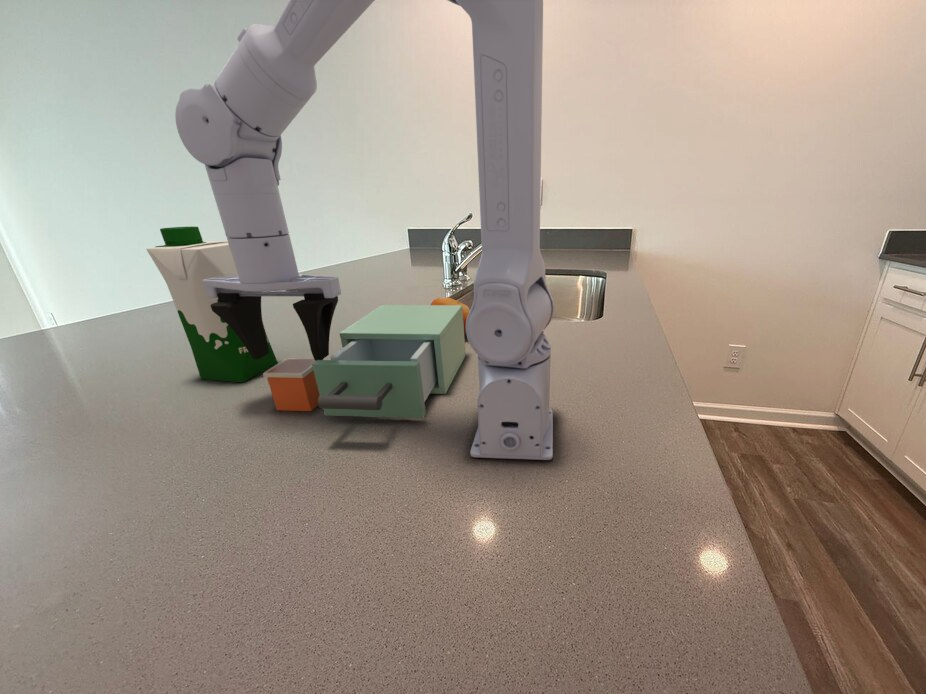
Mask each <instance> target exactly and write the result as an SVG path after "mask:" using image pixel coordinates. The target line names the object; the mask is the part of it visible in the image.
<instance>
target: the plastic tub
mask: <svg viewBox="0 0 926 694" xmlns="http://www.w3.org/2000/svg"><path fill="white" fill-rule="evenodd" d="M322 360H324V359H322ZM314 362H316V361H315V359H314V358H307V357H306V358H305V357H304V358H303V357H302V358H300V357H299V358H296V357H287V358H285V359H283V360H282V361H280V362H278V364H276V365H275V366H273V367H271V368H269V369H267V370H265V371H263V372H262V375H263V378H266V379H267V382H268V386H269V389H270V391H271V396H272V398H273V402H274V404H275V408H276V409H275V410H276V411H283V412H284V411H285V412H287V411H288V412H312V411H314V410H315V409H316V408H317V407H319V406H318V398H319V396H320V394H319V390H318V386H317V382H316V378H315V374H314V370H313V366H312V364H313V363H314Z"/></svg>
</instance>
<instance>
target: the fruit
mask: <svg viewBox="0 0 926 694" xmlns="http://www.w3.org/2000/svg"><path fill="white" fill-rule="evenodd" d="M430 305H462V311H463V324H464V337H466V336H467V335H466V320H467V316H468V314H469V311H470V309H471V308H470V307H469V306H468V305H467V304H464V303H462V302H461V301H460V300H456V299H453V298H451V297H448V296H447V297H437V298H434V300H432V301H431V302H430Z"/></svg>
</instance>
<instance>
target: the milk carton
mask: <svg viewBox="0 0 926 694" xmlns="http://www.w3.org/2000/svg"><path fill="white" fill-rule="evenodd" d="M159 231H160V234H161V237H162V240H163V241H164V244H163V245H156V246H155V247H147V248H146V251H147V254H148V255H149V256H150V258H151V259H152V261H153V263H154V264H155V267H156V268H157V270H158V271H159V273H160V274H161V276H162V278H163V280H164V282H165V284H166V286H167V289H168V291H169V293H170V297H171V299H172V301H173V304H174V306H175V309H176V312H177V315H178V317H179V319H180V322H181V325H182V328H183V330H184V333H185V335H186V338H187V340H188V343H189V346H190V349H191V352H192V355H193V358H194V362H195V365H196V368H197V371H198V375H199V378H200V380H207V381H208V380H209V381H221V382H232V383H245V382H246V381H248V380H251V379H252V378H254V377H256V376H258V375H260V374H261V373H264V372H266V371H268V370H269V369H271V368H272V367H274V366H275V365H277V364H279V362H278V359H277V357H276V354H275V352H274V349H273V348H272V344H271V342H270V340H269V338H268V335H267V332H266V327H265V325H264V324H263V327H264V331H265V335H266V338H267V342H268V348H269V354H267V355H265V356H264V357H262V358H260V359H253V358H252V356H251V355H250V353H249V352H248V350H247V349H246V347H245V346H244V344H243V343H242V341H241V340H240V338H239V337H238V336H237V334H236V333H235V332H234V331H233V330H232V329H231V327H230V326H229V325H228V324H227V323H226V322H225V321H224V320H223V319H221V318H220V317H219V316H218V315H217V314H215V313H214V312H213V311H212V309H211V306H210V305H211V304H213V303H216V302H218V301H217V299H218V297H217V298H208V296H207V293H206V290H205V287H204V284H203V281H202V280H205V279H209V278H213V277H230V276H238V273H237V270H236V266H235V263H234V260H233V257H232V253H231V250H230V247H229V244H228V240H220V241H219V240H218V241H217V240H216V241H215V240H214V241H212V240H211V241H209V240H207V241H206V240H205V241H204V240H203V237H202V234H201V231H200V229H199V226H175V227H162V228H160V229H159Z"/></svg>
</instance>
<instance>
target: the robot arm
mask: <svg viewBox="0 0 926 694" xmlns="http://www.w3.org/2000/svg"><path fill="white" fill-rule="evenodd" d="M375 1H376V0H287V1H286V3H285V5H284V7H283V9H282V11H281V12H280V14H279V17H277V20H276V22H275V23H274V24H271V25H268V24H261V23H253V24H250V25H249V26H248V28H247V27H243V28H242V30H241V32H240V33H239V34H238V36H237V41H238V43H237V45H236V47H235V48H234V51H232V53H231V55H230V56H229V58H228V60H227V61H226V62H225V64H224V66H223V67H222V69H221V71H220V72H219V73H218V74H217V75H216V77H215V78H214V80H213V82H212V84H210V83H209V84H207V83H205V84H203V86H202V88H187V89H185V90H183V91H181V93H180V94H179V99H178V101H177V104H176V107H175V113H174V114H175V126H176V129H177V133H178V135H179V138H180V140H181V142H182V145H183V146H184V148H185V149H186V150H187V152H188V153H189V154H190V155H191V156H192V157H193V158H194V159H195V160H196V161H198V162H199V163H201V164H203V165H204V167H205V171H206V174H207V178H208V180H209V183H210V187H211V191H212V194H213V197H214V201H215V204H216V207H217V211H218V214H219V217H220V220H221V224H222V227H223V230H224V234H225V237H226V241H228V244H229V247H230V250H231V253H232V257H233V260H234V263H235V266H236V270H237V273H238V276H230V277H213V278H209V279H205V280H202V281H203V284H204V287H205V290H206V293H207V296H208V298H217V297H218V299H217V301H218V302H216V303H213V304H211V305H210V306H211V309H212V311H213V312H214V313H215V314H217V315H218V316H219V317H220V318H221V319H223V320H224V321H225V322H226V323H227V324H228V325H229V326H230V327H231V329H232V330H233V331H234V332H235V333H236V334H237V336H238V337H239V338H240V340H241V341H242V343H243V344H244V346H245V347H246V349H247V350H248V352H249V353H250V355H251V356H252V358H253V359H260V358H262V357H264V356H265V355H267V354H269V348H268V342H267V338H266V335H267V334H266V335H265V332H266V330H265V331H264V328H265V326H264V327H263V325H264V322H263V315H262V297H303V299H301V300H299V301H296V302H294V303H292V308H293V309H294V311H295V312H296V314H297V316H298V318H299V320H300V322H301V323H302V326H303V328H304V331H305V333H306V337H307V341H308V344H309V349H310V352H311V355H312V357H313V359H315V361H317V360H322V359H323V360H325V359H326V357H328V356H330V333H331V327H332V322H333V317H334V314H335V310H336V308H337V305H338V303H339V296H340V295H342V290H341V289H342V288H341V285H340V280H339V277H338V276H323V275H313V274H302V273H301V274H300V273H299V270H298V265H297V261H296V257H295V253H294V249H293V244H292V240H291V235H290V234H289V233H290V232H289V228H288V223H287V220H286V219H287V218H286V215H285V212H284V206H283V202H282V198H281V193H280V190H279V186H280V181H281V180H282V179H281V175H280V171H279V163H280V159H281V157H282V152H283V141H282V134H283V133H284V132H285V131H286V129H287V128H288V127H289V125H291V123H292V122H293V121H294V119H295V118H296V117H297V116H298V114H299V113H300V112H301V111H302V110H303V108H304V107H305V105H306V104H307V103H308V102H309V101H310V100H311V98H312V97H313V96H314V94H315V93H316V92H317V89H318V83H317V82H318V81H317V77H316V70H315V66H316V65H317V64H318V63H319V61H320V60H321V59H322V58H323V57H324V56H325V55H326V54H327V53H328V52H329V51H330V50H331V48H332V47H333V46H334V45H335V44H336V43H337V42H338V41H339V40H340V39H341V37H343V35H344V34H345V33H346V32H347V31H348V30H349V29H350V28H351V27H352V25H353V24H355V22H356V21H357V20H358V19H359V18H360V17H361V16H362V15H363V14H364V13H365V12H366V10H368V8H369V7H370V6H371V5H372V4H373V3H374V2H375ZM447 1H448V2H450V3H452V4H454V5H457V6H459V7H461V9H463V10H464V12H465V13H466V14H467V15H468V16H469V18H470V21H471V37H472V58H473V59H472V60H473V80H474V81H473V83H474V102H475V103H474V104H475V105H474V106H475V125H476V126H475V127H476V128H475V129H476V146H477V147H476V148H477V149H476V150H477V171H478V172H477V173H478V191H479V192H478V194H479V216H480V217H479V218H480V237H481V238H480V240H481V255H480V259H479V263H478V266H477V269H476V271H475V276H474V278H473V300H472V304H471V307H470V308H469V309H470V311H469V314H468V316H467V320H466V335H465V336H466V339H467V341H468V343H469V345H470V348H471V349H472V350H473V351H474V353H475V354H476V355H477V368H478V384H479V386H478V387H479V392H478V395H477V399H476V400H477V402H476V405H477V407H476V408H477V409H476V410H477V422H478V423H477V424H478V426H477V429H476V432H475V435H474V439H473V441H472V445H471V448H470V457H471V458H479V459H507V460H533V461H534V460H536V461H550V460H552V459H553V457H554V439H553V438H554V416H553V415H554V412H553V411H554V410H553V409H552V408H550V402H551V399H550V398H551V397H550V395H551V349H552V346H551V344H550V343H549V340H548V338H547V336H546V335H545V333H544V332H545V331H544V330H546V329H547V327H548V326H549V325H550V323H551V321H552V319H553V317H554V312H555V303H554V297H553V296H552V293H551V291H550V290H549V287H548V285H547V284H548V283H547V280H546V279H547V277H546V264H545V260H544V258H543V255H542V252H541V193H542V192H541V190H542V189H541V188H542V187H541V183H542V182H541V179H542V123H543V122H542V116H543V115H542V113H543V109H542V108H543V51H544V48H543V47H544V44H543V43H544V39H543V38H544V0H447Z"/></svg>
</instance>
